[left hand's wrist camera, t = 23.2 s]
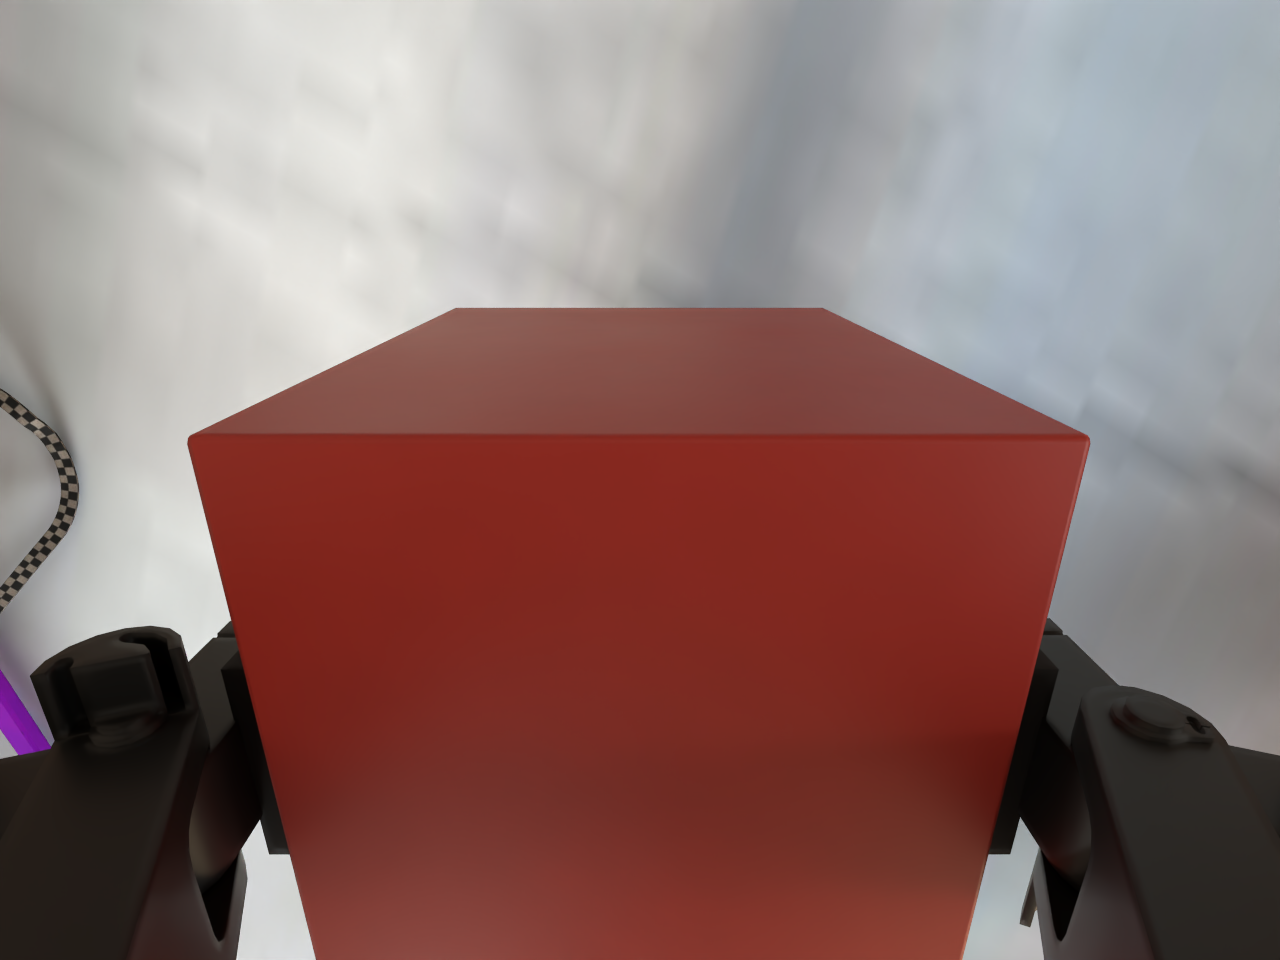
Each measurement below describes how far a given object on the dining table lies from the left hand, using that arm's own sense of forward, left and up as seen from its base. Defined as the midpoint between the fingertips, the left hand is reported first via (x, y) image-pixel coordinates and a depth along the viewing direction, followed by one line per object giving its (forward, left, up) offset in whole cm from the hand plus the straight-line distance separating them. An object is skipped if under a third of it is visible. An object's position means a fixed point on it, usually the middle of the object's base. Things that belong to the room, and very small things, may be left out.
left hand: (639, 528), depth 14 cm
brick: (0, 0, -2) cm, 2 cm away
